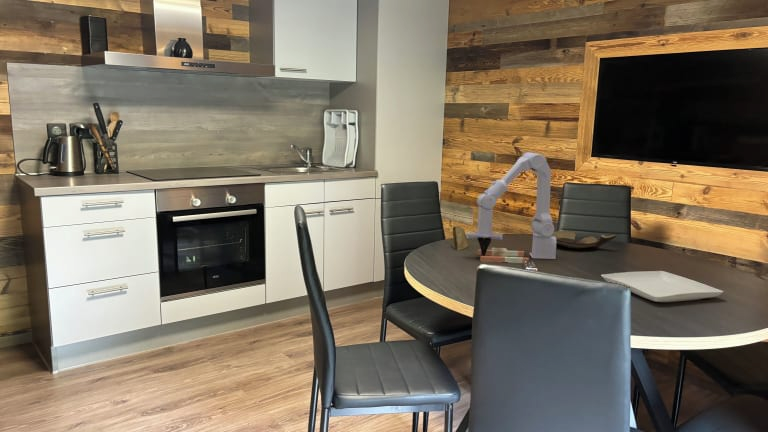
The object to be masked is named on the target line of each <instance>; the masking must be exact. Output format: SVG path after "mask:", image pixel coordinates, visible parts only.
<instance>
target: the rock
mask: <svg viewBox="0 0 768 432" xmlns="http://www.w3.org/2000/svg"><path fill="white" fill-rule="evenodd" d="M452 239H453V240H452V241H453V242H452V243H453V244H452V247H453V248H452V249H454V250H456V251H461V250H464V249H466V248H467V247H469V246H470V242H469V238H466V232H465V229H464V228H463V227H461V226H459V225H457V226H456V225H455V226H453V227H452Z"/></svg>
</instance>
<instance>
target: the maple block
mask: <svg viewBox="0 0 768 432" xmlns="http://www.w3.org/2000/svg"><path fill="white" fill-rule="evenodd" d="M491 250H492V252H491V255H490V256H496V257H508V256H507V251H508V249H507V248H504V247H491Z"/></svg>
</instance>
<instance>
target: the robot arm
mask: <svg viewBox="0 0 768 432" xmlns="http://www.w3.org/2000/svg"><path fill="white" fill-rule="evenodd" d="M526 171H532V172H533V173H534V174H536V177H537V179H536V202H535V203H536V205H535V211H536V212H535V213H534V215H533V220H532V222H531V224H530V228H531V230H532V231H533V234H532V243H531V246H532V247H531V252H529V255H530V256H531V258H532V259H546V260H547V259H549V260H556V259H557V258H556V257H557V256H556V254H557V243H556V237H553V236H551V235H552V234H553V232H554V231H555V226H554V224H553V218H552V215H551V214H550V208H551V207H550V206H551V181H552V170H551V168H550V166H549V164H548V161H547V158H546V157H545V156H544V155H542V154H541V153H536V152H534V153H533V152H531V151H527V152H525V153H523V154H522V156H520V157H519V158H518V159H517V161H516V162H515V163H514V164H513V165H512V167H510V169H509V170H508V171H507V172H506V173H505V175H504V176H503V177H502V178H501V179H496V180H493V181H492V182H491V184H492V185H490V186H489V187H488V189H486V190H483V191H484V192H483V193H481V194H480V195H479V196H477V197H478V199H476V204H477V205H478V211H477V212H478V213H477V215H478V217H477V232H465V234H466V238H468V239H477V242H478V243H479V247H480V250H481V255H480V256H487V255H486V251H487V250H488V248H489V246H490V244H491V242H492V240H503V236H504V235H503V234H502V233H494V232H493V215H494V214H493V210H494V209H493V208H494V207H495V206H496V204H497V201H498V200H499V199H500V198H501V197H502V196H503V195H504V193H506V191H507V190H508V186H509V184H510V183H511V182H513V181H514V180H515V179H516V178H517V177H518V176H519V175H520V174H521V173H522V172H526Z"/></svg>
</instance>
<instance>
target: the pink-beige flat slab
mask: <svg viewBox="0 0 768 432" xmlns="http://www.w3.org/2000/svg"><path fill="white" fill-rule="evenodd" d="M491 252H492V249H487V251H486V255H485V256H482V255H481V249H477V255H478V256H480V262H481V263H482V262H483V263H502V262H508V263H507V264H509V263H510V264H525V263H524V262H525V261H529V262H530V258H529V257H525V251H524V250H507V257H496V256H491Z"/></svg>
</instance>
